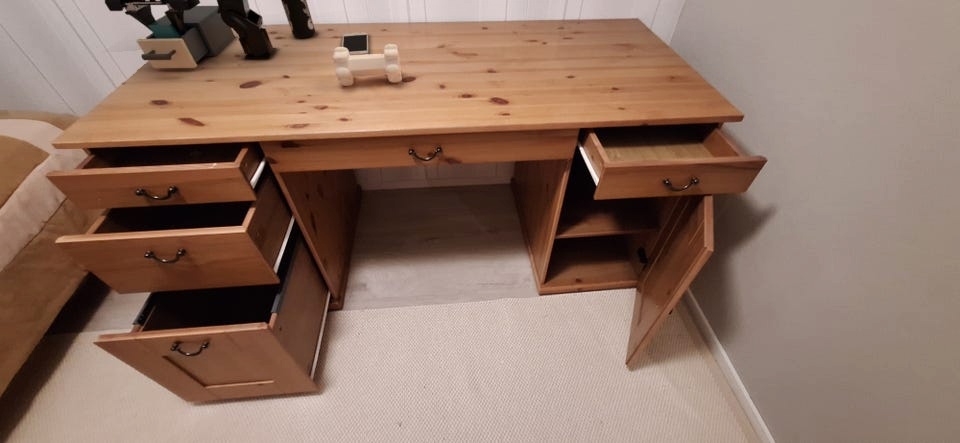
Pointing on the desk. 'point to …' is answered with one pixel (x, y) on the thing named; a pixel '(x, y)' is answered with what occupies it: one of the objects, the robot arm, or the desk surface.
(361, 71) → the bone shaped toy
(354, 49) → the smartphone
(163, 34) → the block
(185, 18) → the cabinet
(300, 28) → the beverage can
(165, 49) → the drawer
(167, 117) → the desk surface
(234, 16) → the robot arm
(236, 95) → the desk surface
